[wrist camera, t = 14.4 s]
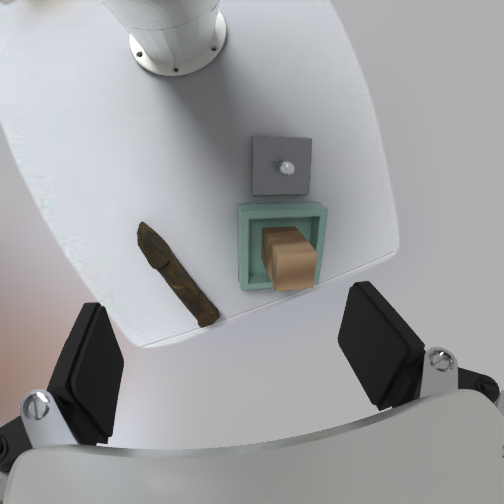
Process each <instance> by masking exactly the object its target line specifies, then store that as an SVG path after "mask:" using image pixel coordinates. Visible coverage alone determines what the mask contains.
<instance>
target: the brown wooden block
mask: <svg viewBox="0 0 504 504" xmlns="http://www.w3.org/2000/svg"><path fill="white" fill-rule="evenodd" d="M317 254H318V253H317V252H316V250H315V249H314V248H313V247H312V246H311V244H310V243H309V242H308V241H307V240H306V238H305V237H304V236H303V235H302V234H301V232H300V231H299V230H298V229H297V228H296V227H295V226H291V227H268V228H262V251H261V259H262V262H263V264H264V266H265V268H266V271H267V273H268V275H269V278H270V280H271V282H272V285H273V287H274V289H275V292H276V291H286V290H296V289H306V288H313V283H314V276H315V269H316V262H317Z"/></svg>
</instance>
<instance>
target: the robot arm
mask: <svg viewBox="0 0 504 504" xmlns="http://www.w3.org/2000/svg"><path fill="white" fill-rule="evenodd" d="M99 1H100V2H102V3H103V4H104V5H105V6H106V7H107V8H108V9H109V10H110V11H111V12H112V13H113V15H114V16H115V17H116V18H117V19H118V21H119V22H120V23H121V24H122V25H123V26H124V28H125V29H126V30H127V31H128V32H129V33H130V38H129V41H130V49H131V52H132V54H133V56H134V58H135V60H136V61H137V62H138V63H139V64H140V65H141V66H142V67H144V68H145V69H147V70H148V71H150V72H152V73H155V74H159V75H164V76H180V75H185V74H189V73H192V72H195V71H197V70H199V69H201V68H203V67H204V66H206V65H207V64H208V63H210V62H211V61H212V60H213V59H214V58H215V57H216V56H217V55H218V53H219V52H220V50H221V48H222V46H223V44H224V41H225V37H226V22H225V19H224V17H223V15H222V13H221V11H220V10H219V9H218V8H219V2H220V0H99ZM213 48H214V49H216V50H215V51H212V49H213ZM140 54H142V56H141V57H139V55H140ZM175 69H178V71H177V72H175V71H174V70H175ZM338 343H339V346H340V348H341V349H342V351H343V353H344V355H345V356H346V358H347V360H348V362H349V363H350V365H351V367H352V369H353V371H354V372H355V374H356V376H357V378H358V379H359V381H360V383H361V385H362V387H363V388H364V390H365V392H366V394H367V396H368V397H369V399H370V401H371V403H372V404H373V405H376V406H377V408H378V410H379V411H380V410H384V409H386V408H389V407H391V406H392V408H393V409H390V410H387V411H384V412H381V413H379V414H376V415H373V416H370V417H367V418H364V419H361V420H358V421H354V422H351V423H348V424H344V425H341V426H338V427H334V428H330V429H326V430H322V431H318V432H314V433H309V434H305V435H301V436H296V437H291V438H286V439H281V440H275V441H269V442H262V443H256V444H248V445H240V446H231V447H220V448H208V449H207V448H206V449H184V450H153V449H128V448H113V447H102V446H96V444H97V443H102V444H108V437H111V436H112V434H113V426H114V420H115V412H116V406H117V400H118V393H119V388H120V383H121V377H122V372H123V367H124V359H123V356H122V353H121V350H120V348H119V346H118V343H117V340H116V337H115V334H114V332H113V329H112V326H111V323H110V320H109V317H108V314H107V311H106V308H105V307H104V306H101V304H100V303H98V302H96V303H85V304H84V305H83V307H82V309H81V311H80V313H79V315H78V317H77V319H76V322H75V324H74V326H73V328H72V330H71V332H70V335H69V337H68V339H67V340H66V342H65V344H64V347H63V349H62V351H61V354H60V356H59V359H58V361H57V364H56V366H55V369H54V372H53V374H52V377H51V379H50V382H49V385H48V387H47V390H42V389H37V390H33V391H31V392H29V393H28V394H26V395H25V396H24V398H23V399H22V401H21V403H20V408H19V410H20V416H18V417H17V418H15V419H14V420H12V421H10V422H9V423H7V424H5V425H4V426H2V427H1V428H0V504H504V391H501V392H500V391H499V387H498V385H497V383H496V382H495V381H494V380H493V379H492V378H491V377H489V376H486V375H483V374H479V373H476V372H473V371H469V370H465V369H462V368H459V367H458V364H457V360H456V358H455V356H454V355H453V354H452V353H451V352H450V351H448V350H446V349H444V348H440V347H434V348H431V349H428V351H427V352H426V351H425V350H424V347H425V345H424V343H423V342H422V341H421V340H420V338H419V337H418V336H417V335H416V334H415V332H414V331H413V330H412V329H411V328H410V327H409V325H408V324H407V323H406V322H405V321H404V320H403V318H401V316H400V315H399V314H398V313H397V312H396V311H395V309H394V308H393V307H392V306H391V305H390V304H389V303H388V301H387V300H386V299H385V298H384V297H383V296H382V295H381V294H380V293H379V292H378V290H377V289H376V288H375V287H374V286H373V285H372V284H371V283H370V282H369V281H363V282H356V283H354V284H353V286H352V287H350V289H349V293H348V298H347V302H346V307H345V311H344V315H343V319H342V323H341V327H340V331H339V335H338Z"/></svg>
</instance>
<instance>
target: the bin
mask: <svg viewBox="0 0 504 504" xmlns="http://www.w3.org/2000/svg"><path fill="white" fill-rule="evenodd" d="M326 216H327V209H326V208H325V207H324V206H322V205H321V204H320V203H318V202H292V203H256V204H238V279H239V282H240V286H241V290H253V289H264V288H274V287H273V285H272V282H271V280H270V278H269V275H268V273H267V271H266V268H265V266H264V264H263V262H262V259H261V251H262V228H268V227H291V226H295V227H296V228H297V229H298V230H299V231H300V232H301V234H302V235H303V236H304V237H305V238H306V240H307V241H308V242H309V243H310V244H311V246H312V247H313V248H314V249H315V250H316V252H317V253H318V254H317V262H316V269H315V276H314V283H313V284H315V283H318V280H319V273H320V266H321V258H322V251H323V243H324V234H325V225H326Z"/></svg>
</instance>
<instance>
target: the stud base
mask: <svg viewBox="0 0 504 504" xmlns="http://www.w3.org/2000/svg"><path fill="white" fill-rule="evenodd" d="M311 143H312V139H310V138H294V137H253V141H252V194H253V195H281V194H309V179H310V163H311Z"/></svg>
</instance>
